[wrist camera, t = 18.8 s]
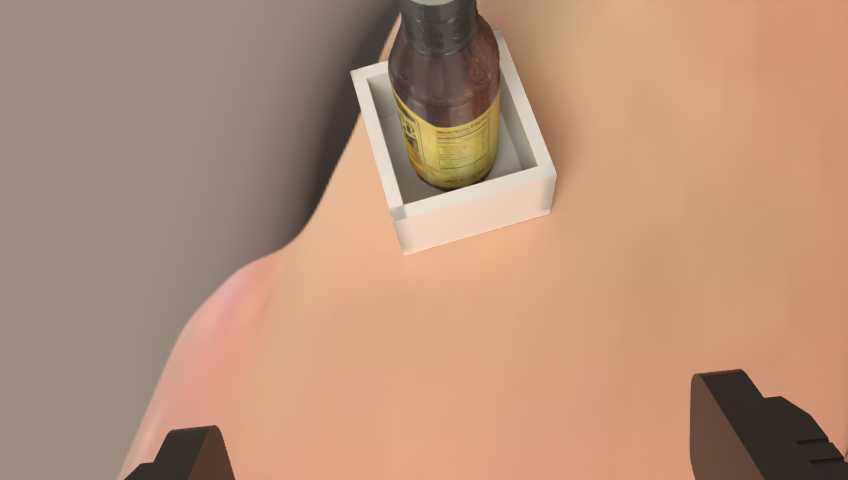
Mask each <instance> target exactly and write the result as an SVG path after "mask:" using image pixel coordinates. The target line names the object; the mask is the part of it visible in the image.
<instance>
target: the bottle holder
mask: <svg viewBox="0 0 848 480" xmlns="http://www.w3.org/2000/svg"><path fill="white" fill-rule="evenodd" d="M493 32H494V35H495V38H496V40H497V44H498V49H499V57H500V61H499V69H500V109H499V136H498V152H497V156H496V159H495V162H494V165H493V167H492V169H491V172H490V173H489V174H488V176H487V178H486V179H485V180H484V181H483V182H482V183H478V184H475V185H471V186H468V187H464V188H461V189H457V190H454V191H450V192H444V191H441V190H438V189H435V188H433V187H431V186H429V185H428V184H427V183H425V182H424V181H422V180H421V179H420V178H419V177H418V175H417V173H416V171H415V170H414V168H413V167H412V165H411V163H410V161H409V158H408V154H407V150H406V146H405V142H404V137H403V133H402V129H401V125H400V120H399V117H398V113H397V108H396V105H395V100H394V96H393V92H392V87H391V83H390V78H389V74H388V61H384V62H381V63H377V64H374V65H370V66H366V67H363V68H360V69H356V70H352V71H351V75H352V79H353V82H354V86H355V89H356V93H357V96H358V100H359V103H360V107H361V111H362V114H363V118H364V121H365V125H366V128H367V132H368V135H369V139H370V142H371V146H372V149H373V153H374V156H375V160H376V163H377V167H378V170H379V174H380V178H381V181H382V185H383V188H384V192H385V195H386V199H387V202H388V206H389V209H390V213H391V216H392V220H393V223H394V226H395V229H396V232H397V235H398V238H399V242H400V245H401V248H402V251H403V254H404V256H406V255H409V254H412V253H416V252H419V251H423V250H426V249H430V248H433V247H436V246H440V245H443V244H447V243H450V242H454V241H457V240H461V239H464V238H467V237H471V236H474V235H478V234H481V233H485V232H488V231H492V230H495V229H498V228H502V227H505V226H509V225H512V224H516V223H519V222H523V221H526V220H529V219H533V218H536V217H540V216H543V215H547V214H550V210H551V205H552V200H553V194H554V189H555V184H556V178H557V173H556V170H555V168H554V165H553V163H552V160H551V158H550V155H549V152H548V150H547V147H546V145H545V142H544V140H543V137H542V134H541V132H540V129H539V127H538V124H537V122H536V119H535V116H534V114H533V111H532V109H531V106H530V104H529V101H528V98H527V96H526V93H525V91H524V88H523V86H522V83H521V81H520V78H519V75H518V73H517V70H516V68H515V65H514V63H513V60H512V57H511V55H510V52H509V50H508V47H507V45H506V42H505V39H504V37H503V34H502V32H501V29H496V30H493Z"/></svg>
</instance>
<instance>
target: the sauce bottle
mask: <svg viewBox="0 0 848 480" xmlns="http://www.w3.org/2000/svg"><path fill="white" fill-rule="evenodd" d="M396 2H397V3H398V5H399V6H400V12H401V19H402V20H401V25H400V28H399V30H398V33H397V36H396V39H395V41H394V44H393V47H392V50H391V52H390V56H389V59H388V74H389V78H390V83H391V87H392V92H393V96H394V100H395V105H396V108H397V113H398V117H399V120H400V125H401V129H402V133H403V137H404V142H405V146H406V150H407V154H408V158H409V161H410V163H411V165H412V167H413V168H414V170H415V171H416V173H417V175H418V177H419V178H420V179H421V180H422V181H424V182H425V183H427V184H428V185H429V186H431V187H433V188H435V189H438V190H441V191H444V192H450V191H454V190H457V189H461V188H464V187H468V186H471V185H475V184H478V183H482V182H483V181H484V180H485V179H486V178H487V176H488V174H489V173H490V172H491V169H492V167H493V165H494V162H495V159H496V156H497V152H498V136H499V109H500V69H499V61H500V57H499V49H498V44H497V40H496V38H495V35H494V32H493V31H492V29H491V27H490V26H489V24H488V23H487V22H486V21H485V20H484V19H483V18H482V16H480V15H479V14H478V11H477V7H476V0H396Z"/></svg>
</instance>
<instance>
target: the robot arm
mask: <svg viewBox="0 0 848 480" xmlns="http://www.w3.org/2000/svg"><path fill="white" fill-rule="evenodd" d="M690 458H691V464H692V469H693V473H694V477H695V480H848V454H847V457H846V460H845V461H844V457H843V456H842V454H841V453H840V452H839V451H838V449H837V448H836V447H835V446H834V444H833V443H830V442H829V440H828V437H827V436H826V434H825V433H824V432H823V430H822V429H821V428H820V427H819V425H818V424H817V423H816V422H815V420H814V419H813V418H812V417H811V415H810V414H808V413H806V412H805V411H803V410H802V409H800V408H799V407H797V406H796V405H794V404H792V403H791V402H789V401H788V400H786V399H785V398H783V397H781V396H778V397H769V398H764V397H763V396H762V395H761V393H760V392H759V390H758V389H757V388H756V386H755V385H754V384H753V382H752V381H751V379H750V378H749V377H748V375H747V374H746V373H745V372H744V371H743V370H741V369H735V370H726V371H717V372H708V373H699V374H694V375H693V377H692V381H691V405H690ZM124 480H235V477H234V474H233V471H232V467H231V464H230V460H229V457H228V454H227V450H226V447H225V443H224V440H223V437H222V434H221V432H220V430H219V428H218V427H217V426H215V425H213V426H204V427H195V428H186V429H177V430H171V431H170V432H169V433H168V434H167V436H166V438H165V440H164V442H163V444H162V446H161V448H160V450H159V452H158V454H157V456H156V458H155V460H154V462H152V463H143V464H140V465H139V466H138V467H137V468H136V469H135V470H134V471H133V472H132V473H131V474H130V475H129V476H127V477H126V478H125V479H124Z"/></svg>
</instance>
